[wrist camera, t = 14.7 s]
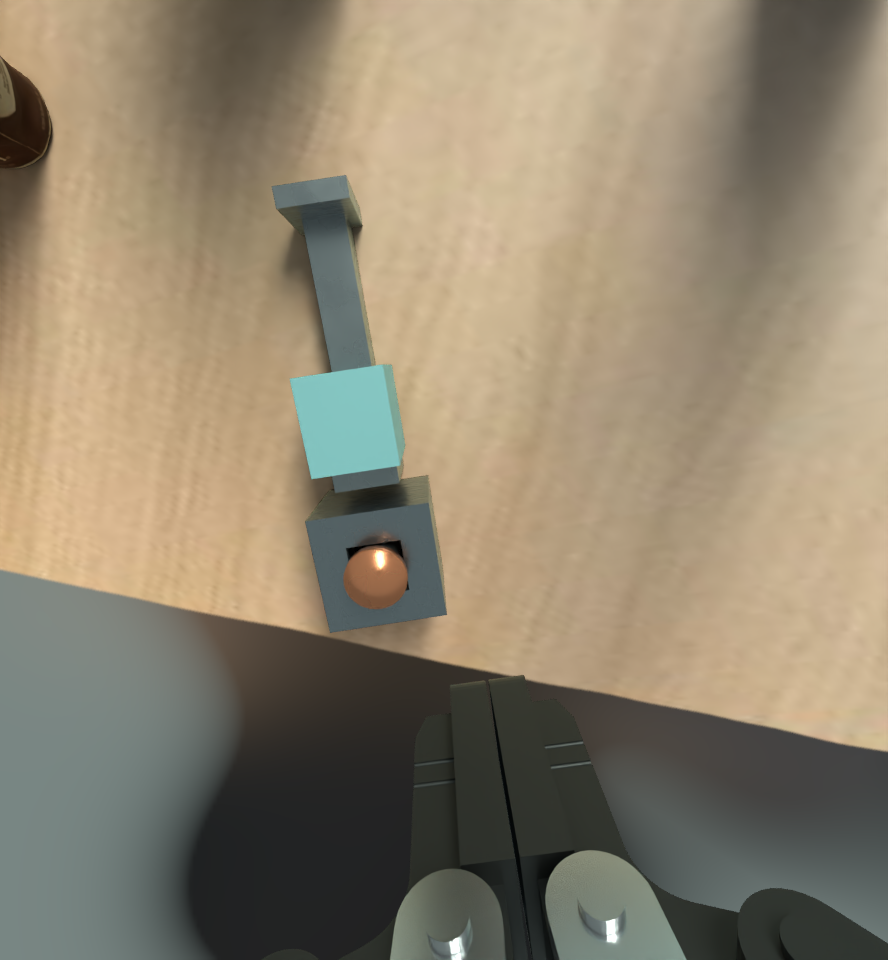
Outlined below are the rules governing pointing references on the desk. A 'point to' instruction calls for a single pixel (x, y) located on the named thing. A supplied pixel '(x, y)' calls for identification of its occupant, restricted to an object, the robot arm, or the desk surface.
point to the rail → (336, 286)
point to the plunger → (376, 575)
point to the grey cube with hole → (371, 522)
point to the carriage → (349, 420)
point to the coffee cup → (21, 120)
